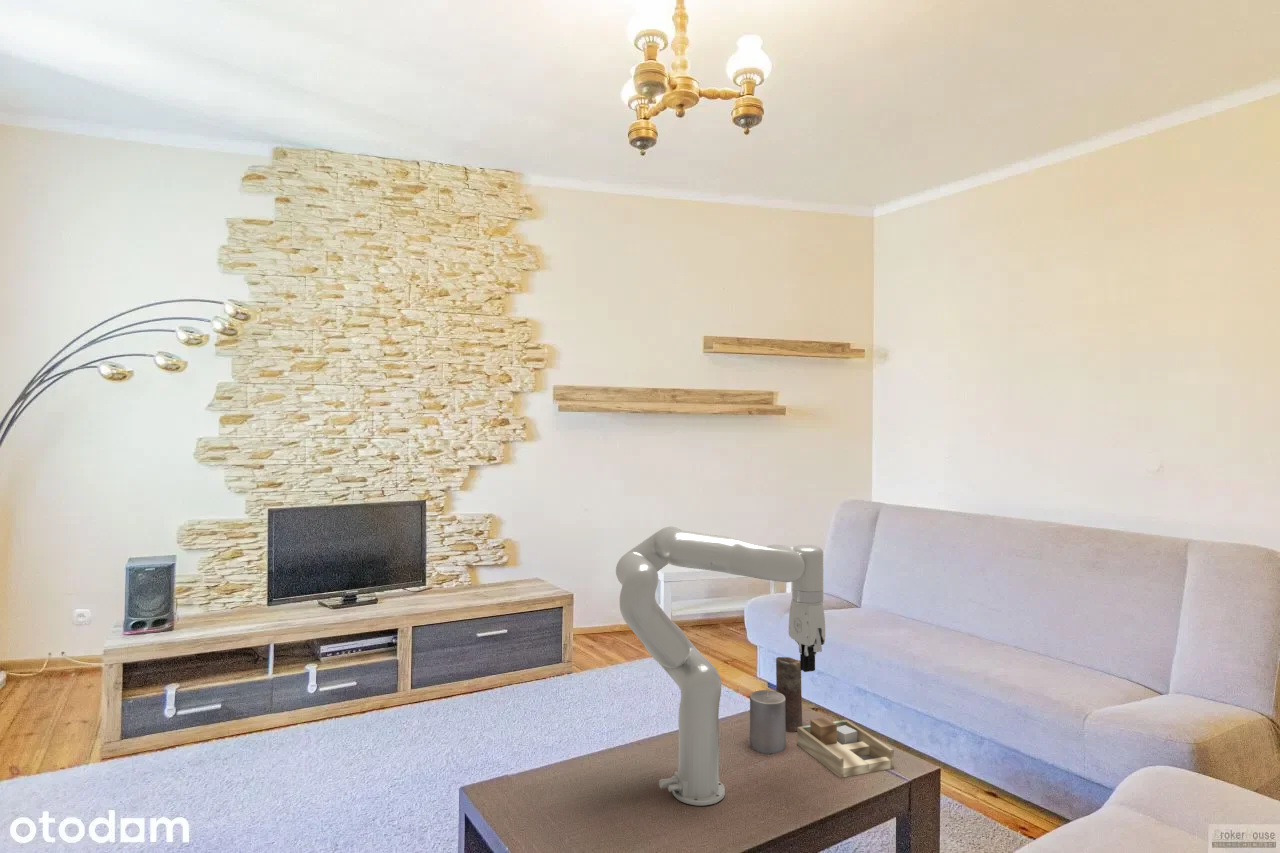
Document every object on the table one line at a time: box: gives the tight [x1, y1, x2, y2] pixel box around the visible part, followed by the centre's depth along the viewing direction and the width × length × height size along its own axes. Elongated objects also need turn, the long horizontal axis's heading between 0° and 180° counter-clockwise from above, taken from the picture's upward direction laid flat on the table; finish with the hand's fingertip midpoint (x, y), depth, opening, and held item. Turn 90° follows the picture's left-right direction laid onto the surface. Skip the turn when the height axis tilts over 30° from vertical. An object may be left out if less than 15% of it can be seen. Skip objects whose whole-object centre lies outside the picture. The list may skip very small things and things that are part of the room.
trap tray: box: [796, 719, 895, 779], centre depth 188 cm, size 16×20×5 cm
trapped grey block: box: [837, 725, 857, 745], centre depth 194 cm, size 4×4×4 cm
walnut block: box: [809, 717, 837, 745], centre depth 192 cm, size 5×5×5 cm
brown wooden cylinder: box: [775, 656, 803, 733], centre depth 207 cm, size 8×7×20 cm
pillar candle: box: [749, 689, 787, 755], centre depth 194 cm, size 10×10×15 cm
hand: (807, 670), depth 175 cm, fingers closed
